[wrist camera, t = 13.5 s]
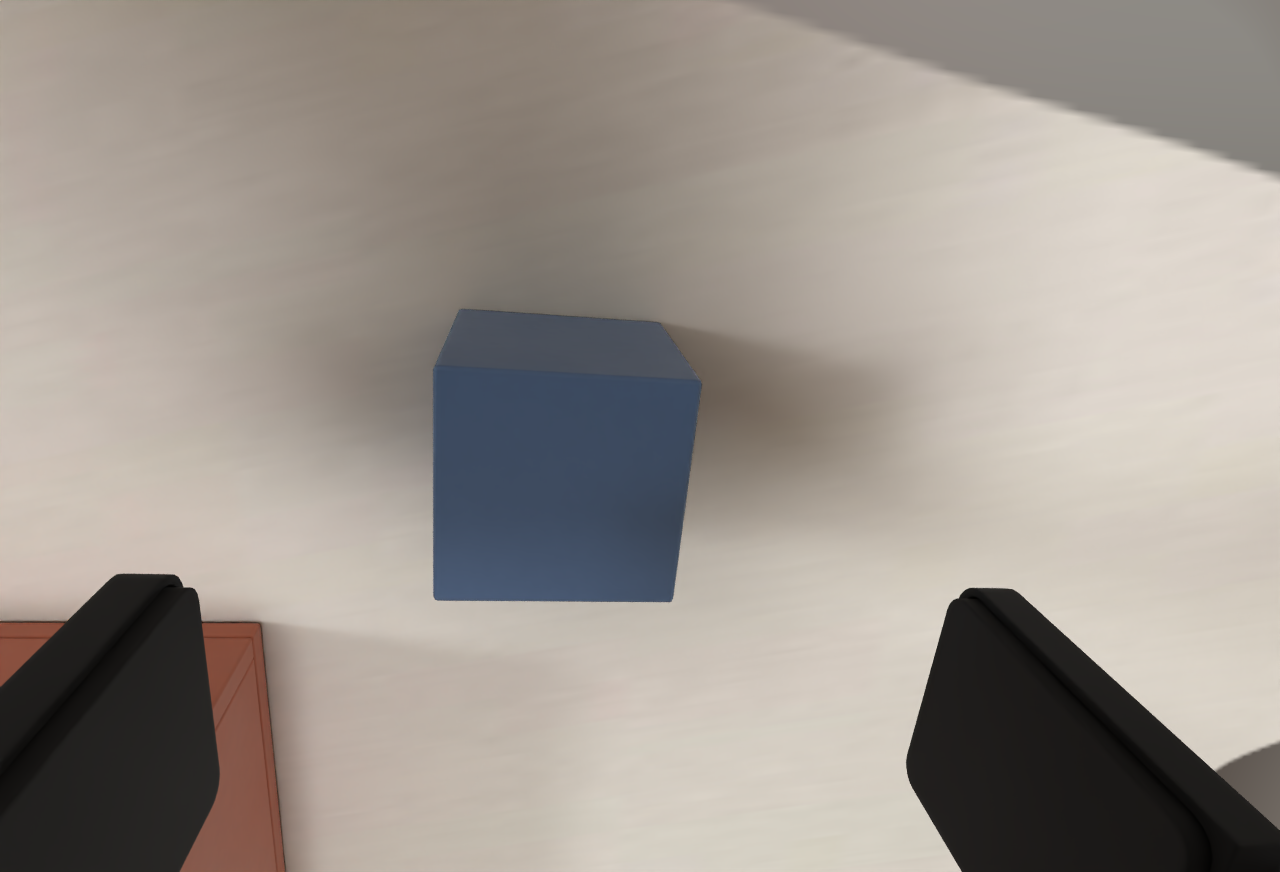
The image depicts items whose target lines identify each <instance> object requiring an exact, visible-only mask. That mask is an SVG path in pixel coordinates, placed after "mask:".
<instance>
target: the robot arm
mask: <svg viewBox="0 0 1280 872" xmlns="http://www.w3.org/2000/svg"><path fill="white" fill-rule="evenodd" d="M906 768H907V774H908V778H909V781H910V784H911V786H912V788H913V790H914V791H915V793H916V795H917V797H918V798H919V800H920V802H921V803H922V805H923V807H924V808H925V810H926V812H927V813H928V815H929V817H930V819H931V820H932V822H933V824H934V825H935V827H936V829H937V830H938V832H939V834H940V835H941V837H942V839H943V841H944V842H945V844H946V846H947V847H948V849H949V851H950V852H951V854H952V856H953V857H954V859H955V861H956V863H957V864H958V866H959V868H960V869H961V871H962V872H1280V830H1278V829H1277V828H1276V827H1275V826H1274V825H1273V824H1272V823H1271V822H1270V821H1269V820H1268V819H1267V818H1265V817H1264V816H1263V815H1262V814H1261V813H1260V812H1259V811H1258V810H1257V809H1256V808H1254V807H1253V806H1252V805H1251V804H1250V803H1249V802H1248V801H1247V800H1246V799H1245V798H1243V797H1242V796H1241V795H1240V794H1239V793H1238V792H1237V791H1236V790H1235V789H1233V788H1232V787H1231V786H1230V785H1229V784H1228V783H1227V782H1226V781H1225V780H1224V779H1223V778H1221V777H1220V776H1219V775H1218V774H1217V773H1216V772H1215V771H1214V770H1213V769H1212V768H1210V767H1209V766H1208V765H1207V764H1206V763H1205V762H1204V761H1203V760H1202V759H1201V758H1199V757H1198V756H1197V755H1196V754H1195V753H1194V752H1193V751H1192V750H1191V749H1190V748H1188V747H1187V746H1186V745H1185V744H1184V743H1183V742H1182V741H1181V740H1180V739H1179V738H1177V737H1176V736H1175V735H1174V734H1173V733H1172V732H1171V731H1170V730H1169V729H1168V728H1166V727H1165V726H1164V725H1163V724H1162V723H1161V722H1160V721H1159V720H1158V719H1157V718H1156V717H1154V716H1153V715H1152V714H1151V713H1150V712H1149V711H1148V710H1147V709H1146V708H1145V707H1143V706H1142V705H1141V704H1140V703H1139V702H1138V701H1137V700H1136V699H1135V698H1134V697H1132V696H1131V695H1130V694H1129V693H1128V692H1127V691H1126V690H1125V689H1124V688H1123V687H1121V686H1120V685H1119V684H1118V683H1117V682H1116V681H1115V680H1114V679H1113V678H1112V677H1110V676H1109V675H1108V674H1107V673H1106V672H1105V671H1104V670H1103V669H1102V668H1101V667H1099V666H1098V665H1097V664H1096V663H1095V662H1094V661H1093V660H1092V659H1091V658H1090V657H1088V656H1087V655H1086V654H1085V653H1084V652H1083V651H1082V650H1081V649H1080V648H1079V647H1077V646H1076V645H1075V644H1074V643H1073V642H1072V641H1071V640H1070V639H1069V638H1068V637H1066V636H1065V635H1064V634H1063V633H1062V632H1061V631H1060V630H1059V629H1058V628H1057V627H1055V626H1054V625H1053V624H1052V623H1051V622H1050V621H1049V620H1048V619H1047V618H1046V617H1044V616H1043V615H1042V614H1041V613H1040V612H1039V611H1038V610H1037V609H1036V608H1035V607H1033V606H1032V605H1031V604H1030V603H1029V602H1028V601H1027V600H1026V599H1025V598H1024V597H1022V596H1021V595H1020V594H1019V593H1018V592H1016V591H1014V590H1013V589H1005V588H969V589H966V590H965V591H964V592H963V593H962V594H961V595H960V597H959V599H955V600H953V601H952V602H951V603H950V605H949V607H948V609H947V613H946V617H945V620H944V624H943V627H942V631H941V635H940V638H939V642H938V646H937V649H936V653H935V656H934V660H933V664H932V667H931V671H930V674H929V678H928V682H927V685H926V689H925V692H924V696H923V700H922V703H921V707H920V710H919V714H918V718H917V721H916V725H915V728H914V732H913V736H912V739H911V743H910V747H909V750H908V754H907V759H906ZM219 780H220V766H219V758H218V750H217V742H216V734H215V726H214V718H213V710H212V702H211V693H210V685H209V677H208V669H207V661H206V653H205V645H204V637H203V629H202V621H201V612H200V604H199V598H198V594H197V592H196V590H195V589H193V588H183V585H182V582H181V581H180V579H179V577H177V576H175V575H169V574H117V575H115V576H114V577H112V578H111V579H110V580H109V581H108V582H107V583H106V584H105V585H104V586H103V587H102V588H101V589H99V590H98V591H97V592H96V593H95V594H94V595H93V596H92V597H91V598H90V599H89V600H88V601H87V602H86V603H85V604H84V605H83V606H82V607H81V608H80V609H79V610H78V611H77V612H76V613H75V614H74V615H73V616H72V617H71V618H70V619H69V620H68V621H67V622H66V623H65V624H64V625H63V626H62V627H61V628H60V629H59V630H58V631H57V632H56V633H55V634H54V635H53V636H52V637H51V638H50V639H49V640H48V641H47V642H46V643H44V644H43V645H42V646H41V647H40V648H39V649H38V650H37V651H36V652H35V653H34V654H33V655H32V656H31V657H30V658H29V659H28V660H27V661H26V662H25V663H24V664H23V665H22V666H21V667H20V668H19V669H18V670H17V671H16V672H15V673H14V674H13V675H12V676H11V677H10V678H9V679H8V680H7V681H6V682H5V683H4V684H3V685H2V686H1V687H0V872H180V870H181V868H182V866H183V864H184V862H185V860H186V858H187V856H188V854H189V852H190V850H191V848H192V846H193V844H194V842H195V840H196V838H197V836H198V834H199V832H200V830H201V828H202V826H203V824H204V822H205V821H206V819H207V817H208V815H209V813H210V811H211V809H212V806H213V804H214V802H215V799H216V796H217V792H218V787H219Z"/></svg>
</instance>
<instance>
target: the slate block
mask: <svg viewBox="0 0 1280 872" xmlns="http://www.w3.org/2000/svg"><path fill="white" fill-rule="evenodd" d="M701 387H702V383H701V380H700V379H699V377H698V376H697V375H696V373H695V372H694V370H693V369H692V367H691V366H690V365H689V363H688V362H687V360H686V359H685V358H684V356H683V355H682V353H681V352H680V350H679V349H678V348H677V346H676V345H675V343H674V342H673V340H672V339H671V338H670V336H669V335H668V333H667V332H666V330H665V329H664V328H663V326H662V325H661V324H660V323H658V322H645V321H630V320H616V319H601V318H587V317H572V316H558V315H543V314H529V313H514V312H500V311H485V310H471V309H460V310H459V311H458V313H457V316H456V318H455V320H454V322H453V325H452V327H451V329H450V332H449V334H448V336H447V339H446V341H445V343H444V345H443V348H442V350H441V352H440V355H439V357H438V359H437V362H436V364H435V366H434V368H433V596H434V598H435V600H444V601H584V602H671V601H672V599H673V595H674V587H675V580H676V573H677V565H678V558H679V550H680V543H681V535H682V528H683V521H684V513H685V506H686V498H687V491H688V483H689V476H690V469H691V461H692V454H693V446H694V439H695V431H696V424H697V417H698V409H699V402H700V394H701Z"/></svg>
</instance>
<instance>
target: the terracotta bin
mask: <svg viewBox="0 0 1280 872" xmlns="http://www.w3.org/2000/svg"><path fill="white" fill-rule="evenodd" d="M64 624H65V623H0V687H1V686H2V685H3V684H4V683H5V682H6V681H7V680H8V679H9V678H10V677H11V676H12V675H13V674H14V673H15V672H16V671H17V670H18V669H19V668H20V667H21V666H22V665H23V664H24V663H25V662H26V661H27V660H28V659H29V658H30V657H31V656H32V655H33V654H34V653H35V652H36V651H37V650H38V649H39V648H40V647H41V646H42V645H43V644H44V643H46V642H47V641H48V640H49V639H50V638H51V637H52V636H53V635H54V634H55V633H56V632H57V631H58V630H59V629H60V628H61V627H62V626H63V625H64ZM202 629H203V637H204V645H205V653H206V661H207V669H208V677H209V685H210V693H211V702H212V710H213V718H214V726H215V734H216V742H217V750H218V758H219V766H220V780H219V787H218V792H217V796H216V799H215V802H214V804H213V806H212V809H211V811H210V813H209V815H208V817H207V819H206V821H205V822H204V824H203V826H202V828H201V830H200V832H199V834H198V836H197V838H196V840H195V842H194V844H193V846H192V848H191V850H190V852H189V854H188V856H187V858H186V860H185V862H184V864H183V866H182V868H181V870H180V872H285V866H284V856H283V846H282V836H281V826H280V816H279V806H278V796H277V786H276V776H275V766H274V757H273V747H272V737H271V727H270V717H269V707H268V697H267V687H266V677H265V667H264V657H263V647H262V637H261V627H260V624H258V623H202Z"/></svg>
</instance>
